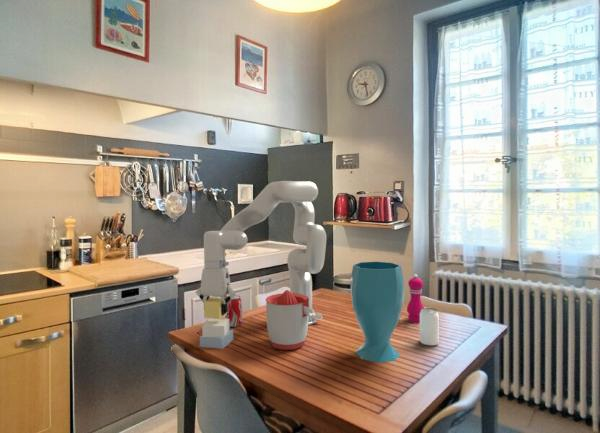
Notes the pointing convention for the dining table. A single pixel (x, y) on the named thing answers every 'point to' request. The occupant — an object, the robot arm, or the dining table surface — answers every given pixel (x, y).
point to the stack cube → (213, 308)
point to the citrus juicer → (287, 319)
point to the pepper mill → (415, 299)
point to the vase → (377, 307)
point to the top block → (215, 328)
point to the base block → (216, 341)
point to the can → (429, 326)
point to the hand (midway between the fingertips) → (215, 312)
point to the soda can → (234, 311)
